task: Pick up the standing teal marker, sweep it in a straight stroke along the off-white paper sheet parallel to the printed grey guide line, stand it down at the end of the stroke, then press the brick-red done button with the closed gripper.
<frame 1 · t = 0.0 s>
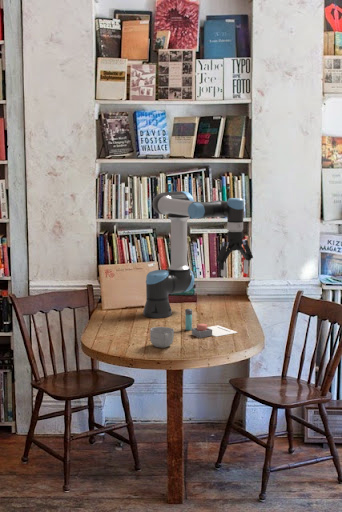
hand: (234, 274, 355), 28 cm above the table, fingers open, 13 cm apart
marker: (188, 329, 363), on the table
paper: (217, 331, 360), on the table
done button: (201, 328, 352), point 3 cm above the table, slide at 0.0 cm
teacup: (162, 347, 334), on the table
button housing: (201, 335, 353), on the table
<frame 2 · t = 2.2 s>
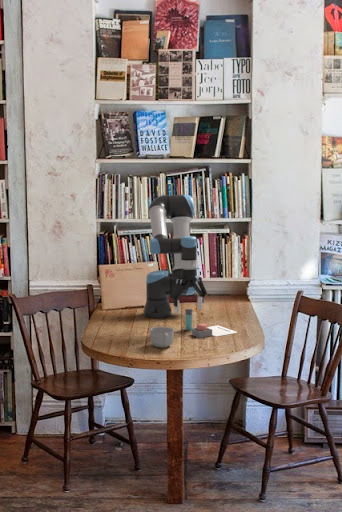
hand: (188, 311, 361), 9 cm above the table, fingers open, 13 cm apart
nothing on the table moved.
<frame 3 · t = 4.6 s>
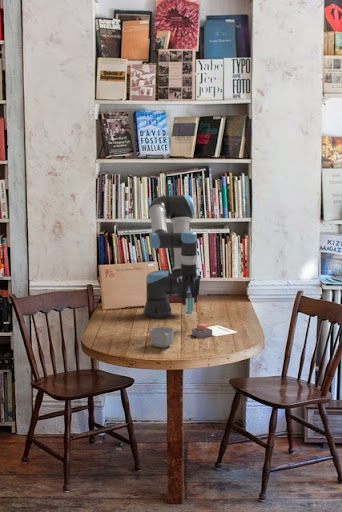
hand: (188, 310, 362), 9 cm above the table, fingers closed on marker, 3 cm apart
marker: (188, 313, 362), point 8 cm above the table, touching gripper
everything else where it was.
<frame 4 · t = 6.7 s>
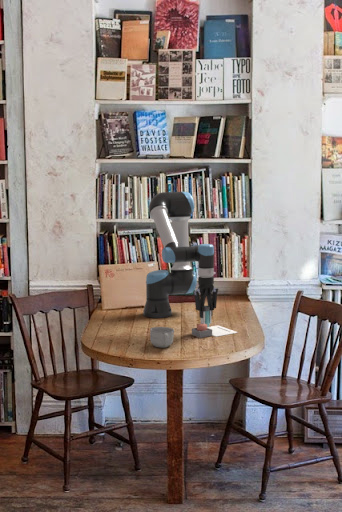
hand: (206, 323, 361), 4 cm above the table, fingers closed on marker, 3 cm apart
marker: (206, 326, 361), point 2 cm above the table, touching gripper
everything else where it was.
when the fingers open (2 cm above the table, at t = 8.9 s): marker stays where it is, resting on paper.
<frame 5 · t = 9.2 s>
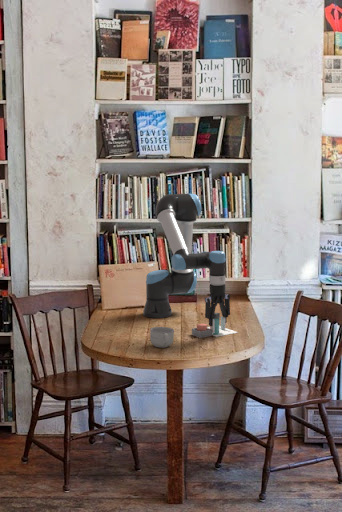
hand: (217, 331, 354), 2 cm above the table, fingers open, 6 cm apart
marker: (215, 333, 354), resting on paper
everything else where it was.
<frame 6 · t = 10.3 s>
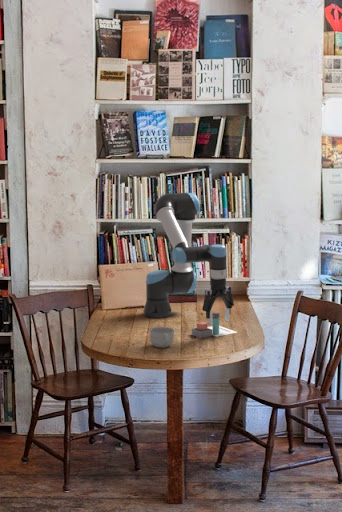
hand: (218, 322, 354), 5 cm above the table, fingers open, 10 cm apart
done button: (201, 327, 352), point 4 cm above the table, slide at -0.7 cm, touching gripper
everything else where it was.
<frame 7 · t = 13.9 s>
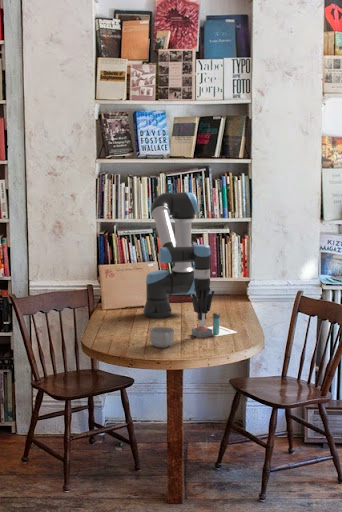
hand: (202, 326, 352), 4 cm above the table, fingers closed
done button: (201, 330, 353), point 2 cm above the table, slide at 0.9 cm, touching gripper
everything else where it was.
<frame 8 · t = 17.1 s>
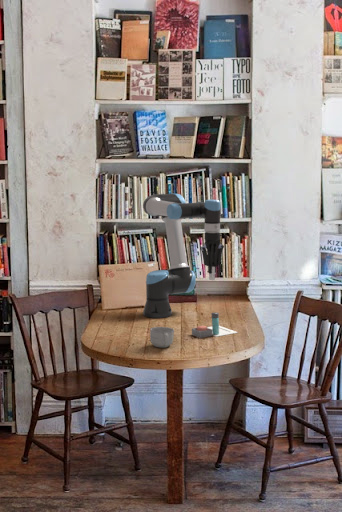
hand: (211, 279, 362), 24 cm above the table, fingers closed
done button: (201, 330, 353), point 2 cm above the table, slide at 1.1 cm
everything else where it was.
at the end: marker inside the target area (0.7 cm from its centre), resting on paper; marker tilted 4°; done button slide at 1.1 cm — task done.
